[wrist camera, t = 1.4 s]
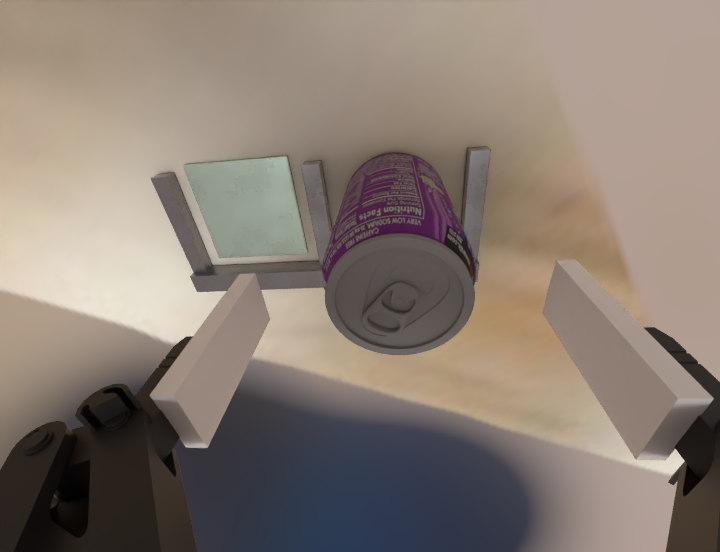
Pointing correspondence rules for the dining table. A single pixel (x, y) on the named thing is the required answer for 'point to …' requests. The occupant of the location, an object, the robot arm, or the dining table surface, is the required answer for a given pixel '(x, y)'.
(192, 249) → the grey flat frame
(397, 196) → the beverage can
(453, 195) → the dining table surface
